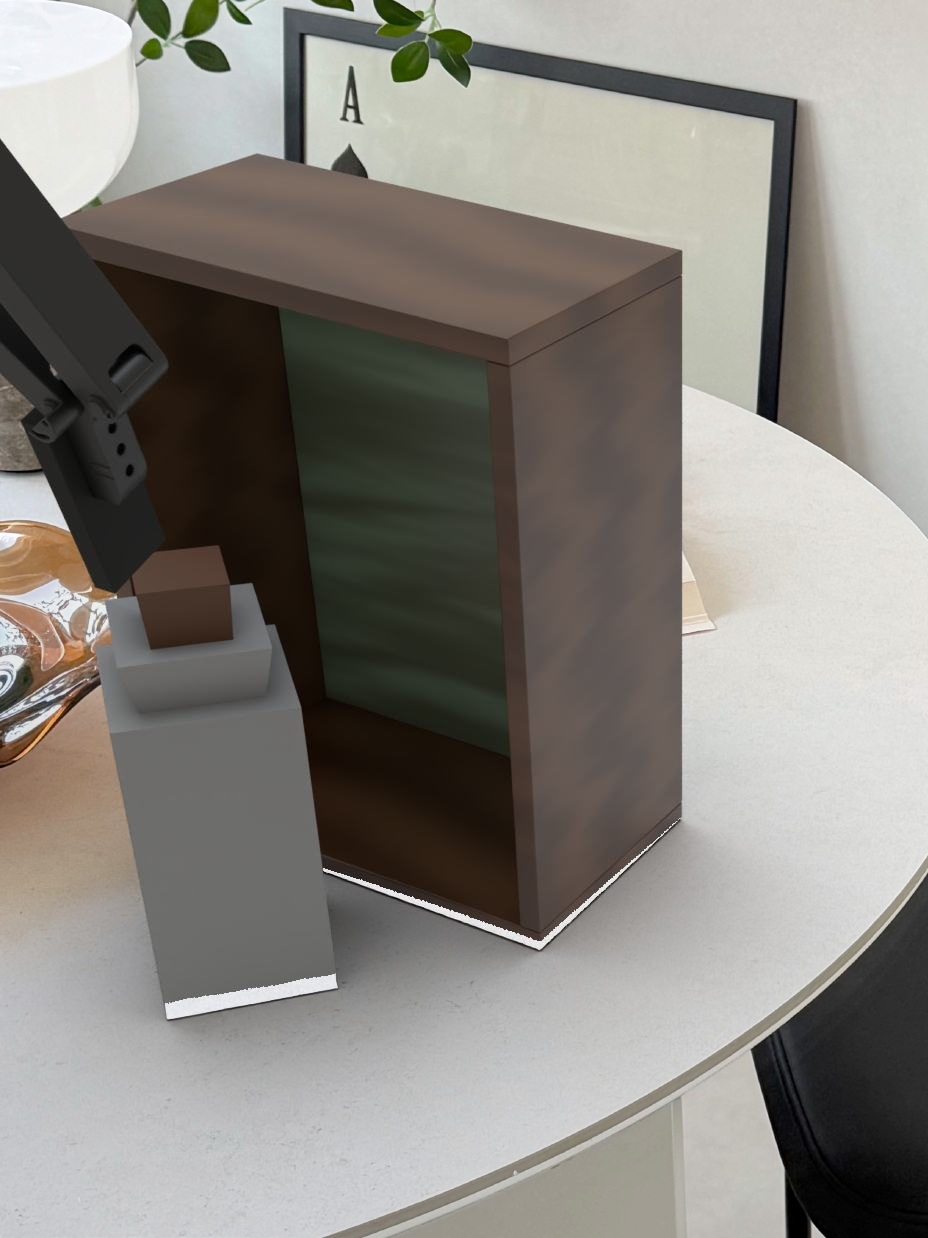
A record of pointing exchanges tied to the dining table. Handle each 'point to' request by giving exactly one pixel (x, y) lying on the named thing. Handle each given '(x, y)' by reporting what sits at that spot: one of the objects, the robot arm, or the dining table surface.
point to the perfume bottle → (214, 781)
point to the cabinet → (430, 509)
